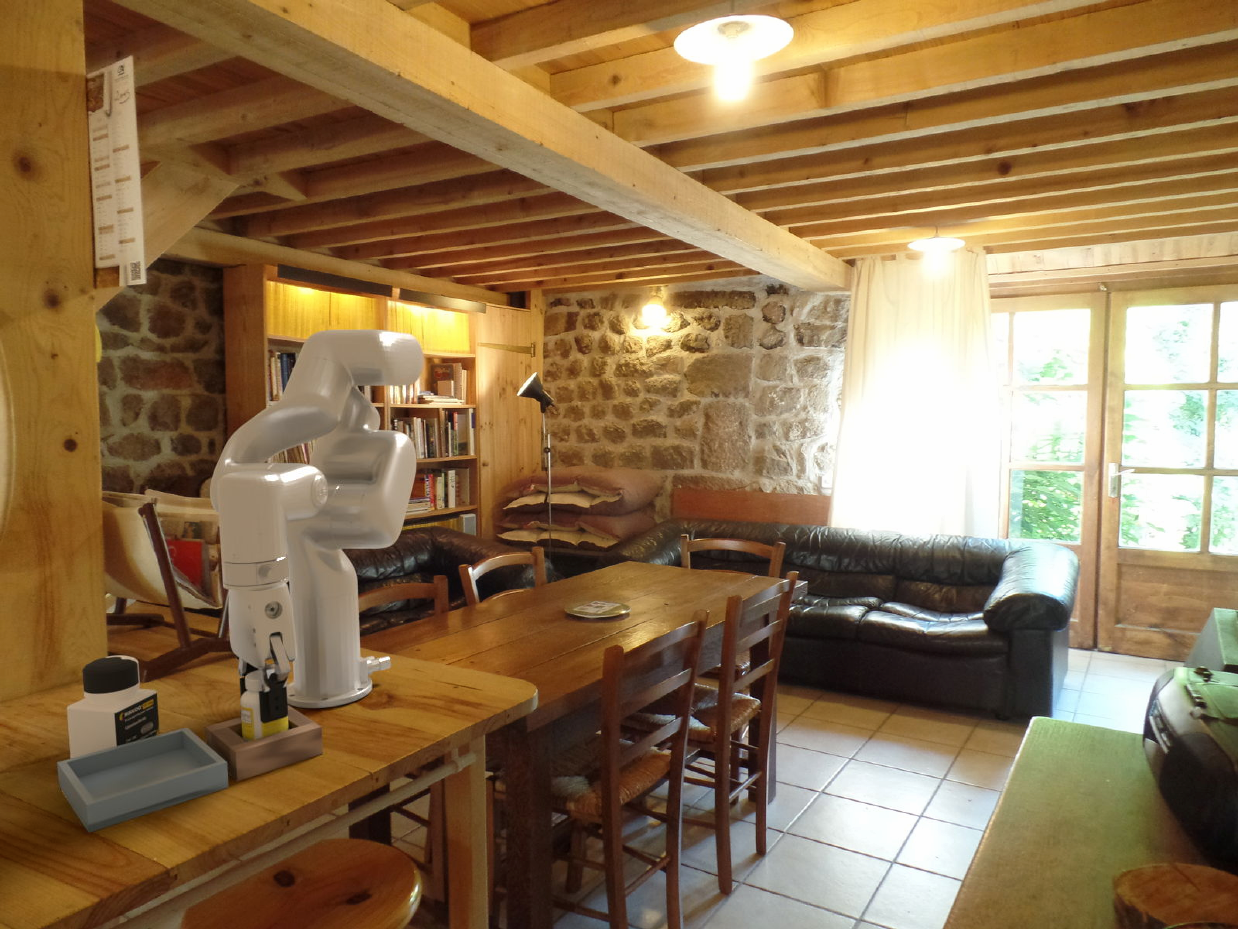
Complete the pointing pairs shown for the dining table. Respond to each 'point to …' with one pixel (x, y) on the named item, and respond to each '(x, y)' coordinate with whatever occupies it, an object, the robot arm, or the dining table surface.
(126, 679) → the medicine bottle
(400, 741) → the dining table surface
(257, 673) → the supplement bottle
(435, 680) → the dining table surface
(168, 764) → the pin tray
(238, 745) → the small brown open box
